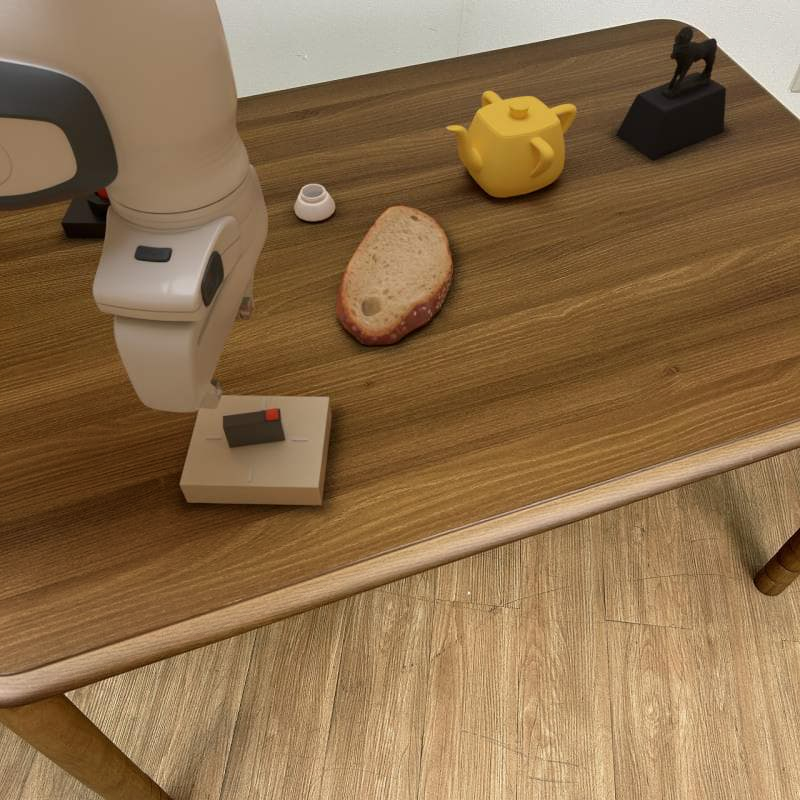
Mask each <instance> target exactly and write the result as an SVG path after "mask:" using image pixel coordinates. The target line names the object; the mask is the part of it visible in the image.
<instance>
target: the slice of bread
mask: <svg viewBox="0 0 800 800" xmlns="http://www.w3.org/2000/svg"><path fill="white" fill-rule="evenodd" d="M453 264H454V263H453V260H452V252H451V248H450V242H449V239H448V237H447V235H446V233H445V231H444V229H443V228H442V226H441V225H440V224H439V222H438V221H436V219H435V218H433V217H432V216H430V215H429V214H427V213H426V212H423V211H421V210H420V209H418V208H414V207H410V206H406V205H395V206H391V207H388V208H387V209H386V210H385V211H383V213H381V215H379V216H378V217H377V218H376V219H375V221H374V223H373V225H371V226H370V228H369V230H368V231H367V232H366V234H365V235H364V237H363V238H362V240H361V241H360V243H359V244H358V245H357V247H356V249H355V251H354V253H353V254H352V256H351V258H350V260H349V261H348V263H347V265H346V268H345V269H344V272H343V275H342V278H341V280H340V282H339V287H338V291H337V295H336V300H335V314H336V316H337V318H338V320H339V322H340V324H341V325H342V326H343V328H344V329H345V330H346V331H347V332H348V333H349V334H351V335H352V336H353V337H354V338H355V339H356V340H357V341H358V342H359V343H360V344H362V345H365V346H377V345H380V346H385V345H392V344H395V343H398V342H399V341H400V340H401V339H403V337H405V336H406V335H408V334H409V333H410V332H412V331H413V330H416V329H418V328H420V327H422V326H424V325H426V324H427V323H428V322H429V321H430V320H431V319H432V318H433V317H434V316H435V315H436V314H437V313H438V312H439V311H440V309H441V308H442V305H443V303H444V302H445V300H446V298H447V295H448V292H449V290H450V287H451V285H452V279H453V274H454V273H453V272H454V265H453Z"/></svg>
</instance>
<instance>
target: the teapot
mask: <svg viewBox="0 0 800 800" xmlns="http://www.w3.org/2000/svg"><path fill="white" fill-rule="evenodd" d="M577 111H578V109H577V107H576V105H574V104H572V103H564V104H560V105H559V104H558V105H557V106H554V107H551V108H550V107H548V106H547V105H546V103H544V102H543V101H541V100H540V99H538V98H537V97H535V96H532V95H529V96H528V95H524V96H523V95H522V96H516V97H509V98H506V99H502V98H501V97H500V96H499V95H498V94H497V93H496V92H494V91H492V90H486V91H484V92H483V93H482V95H481V108H479V109H478V110H477V111H476V113H475V115H474V117H473V119H472V121H471V122H470V125H469V128H468V130H467V129H466V128H465V127H464V126H462V125H457V124H452V125H448V126H446V128H445V129H446V130H448V131H450V132H452V133H454V134H455V135H456V139H457V151H458V153H457V154H458V157H459V160H460V162H461V163H462V164H463V166H464V167H465V168H466V170H467V172H468V174H469V175H470V176H471V178H472V179H473V180H474V181H475V183H477V184H478V186H479V187H480V188H481V189H482V190H484V192H485V193H487V194H488V195H489V196H491V197H494V198H509V197H515V196H521V195H527V194H529V193H532V192H535V191H538V190H540V189H543V188H545V187H547V186H549V185H550V184H553V182H555V181H556V180H557V179H558V178H559V176H560V175H561V174H562V172H563V170H564V168H565V158H566V146H565V145H566V143H565V139H564V138H565V137H564V135H565V134H566V132H567V131H568V130H569V129H570V127H571V126H572V124H573V122H574V121H575V118H576V116H577V113H578V112H577ZM559 116H561V119H560V118H559Z"/></svg>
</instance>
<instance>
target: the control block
mask: <svg viewBox="0 0 800 800" xmlns="http://www.w3.org/2000/svg"><path fill="white" fill-rule="evenodd" d="M109 206H112V205H111V203H110V200H109V198H101V197H100V196H99V195H98V193H97V191H96V192H94V193H91V194H88V195H85V196H81V197H78V198H74V199H71V202H70V204H69V206H68V208H67V209H66V212H65V213H64V216H63V217H62V220H61V221H60V225H61V227H62V228H63V231H64V233H65V235H66V237H67V238H82V239H83V238H87V239H88V238H89V239H90V238H92V239H94V238H95V239H105V234H106V223H107V211H108V208H109Z"/></svg>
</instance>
